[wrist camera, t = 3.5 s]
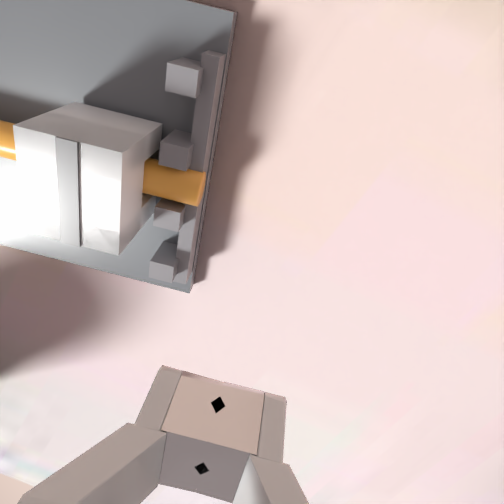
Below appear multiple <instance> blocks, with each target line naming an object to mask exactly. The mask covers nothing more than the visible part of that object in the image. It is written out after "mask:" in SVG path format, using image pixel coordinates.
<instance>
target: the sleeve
mask: <svg viewBox="0 0 504 504" xmlns="http://www.w3.org/2000/svg"><path fill="white" fill-rule="evenodd" d="M162 125H163V124H162V123H158V122H154V121H150V120H146V119H142V118H138V117H134V116H130V115H126V114H122V113H118V112H114V111H110V110H106V109H102V108H98V107H94V106H90V105H86V104H82V103H78V102H73V103H70V104H68V105H65V106H62V107H60V108H57V109H54V110H52V111H49V112H46V113H44V114H41V115H38V116H36V117H33V118H30V119H28V120H25V121H22V122H20V123H17V124H14V125H13V132H14V141H15V151H16V160H17V169H18V178H19V187H20V196H21V205H22V214H23V223H24V232H28V233H32V234H36V235H40V236H43V237H47V238H51V239H55V240H59V241H61V243H65V244H69V245H73V246H77V247H81V246H83V247H87V248H90V249H94V250H98V251H102V252H106V253H110V254H114V255H118V256H119V255H120V254H121V252H122V251H123V250H124V249H125V247H126V246H127V245H128V244H129V242H130V241H131V240H132V239H133V238H134V236H135V235H136V234H137V233H138V231H139V230H140V229H141V228H142V226H143V225H144V224H145V223H146V222H147V220H148V219H149V218H150V217H151V215H152V214H153V213H154V209H155V205H156V196H153V195H149V194H145V193H142V190H143V176H144V162H145V161H146V160H147V159H148V158H149V157H150V156H151V155H153V154H154V153H155V152H156V151H157V150H158V149H159V148H160V141H161V136H162Z"/></svg>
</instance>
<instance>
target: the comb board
mask: <svg viewBox="0 0 504 504" xmlns="http://www.w3.org/2000/svg"><path fill="white" fill-rule="evenodd" d="M236 18H237V12H234V11H230V10H226V9H222V8H218V7H214V6H210V5H206V4H202V3H198V2H194V1H190V0H0V245H3V246H7V247H11V248H15V249H19V250H22V251H26V252H30V253H34V254H38V255H42V256H46V257H50V258H54V259H58V260H61V261H65V262H69V263H73V264H77V265H81V266H85V267H89V268H93V269H97V270H101V271H104V272H108V273H112V274H116V275H120V276H124V277H128V278H132V279H136V280H140V281H144V282H147V283H151V284H155V285H159V286H163V287H167V288H171V289H175V290H179V291H183V292H186V293H190V291H191V289H192V286H193V283H194V277H195V270H196V264H197V258H198V252H199V246H200V240H201V233H202V227H203V221H204V215H205V209H206V203H207V196H208V190H209V184H210V178H211V172H212V166H213V159H214V153H215V147H216V141H217V135H218V129H219V122H220V116H221V110H222V104H223V98H224V92H225V85H226V79H227V73H228V67H229V61H230V55H231V48H232V42H233V36H234V30H235V24H236ZM73 102H78V103H82V104H86V105H90V106H94V107H98V108H102V109H106V110H110V111H114V112H118V113H122V114H126V115H130V116H134V117H138V118H142V119H146V120H150V121H154V122H158V123H162V124H163V125H162V136H161V141H160V148H159V149H158V150H157V151H156V152H155V153H154V154H153V155H151V156H150V157H149V158H148V159H147V160H146V161H145V162H144V176H143V190H142V193H145V194H149V195H153V196H156V205H155V209H154V213H153V214H152V215H151V217H150V218H149V219H148V220H147V222H146V223H145V224H144V225H143V226H142V228H141V229H140V230H139V231H138V233H137V234H136V235H135V236H134V238H133V239H132V240H131V241H130V242H129V244H128V245H127V246H126V247H125V249H124V250H123V251H122V252H121V254H120V255H119V256H118V255H114V254H110V253H106V252H102V251H98V250H94V249H90V248H87V247H83V246H81V247H77V246H73V245H69V244H65V243H61V241H59V240H55V239H51V238H47V237H43V236H40V235H36V234H32V233H28V232H24V223H23V214H22V205H21V196H20V187H19V178H18V169H17V160H16V151H15V141H14V132H13V125H14V124H17V123H20V122H22V121H25V120H28V119H30V118H33V117H36V116H38V115H41V114H44V113H46V112H49V111H52V110H54V109H57V108H60V107H62V106H65V105H68V104H70V103H73Z"/></svg>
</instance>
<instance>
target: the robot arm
mask: <svg viewBox="0 0 504 504" xmlns="http://www.w3.org/2000/svg"><path fill="white" fill-rule="evenodd" d="M286 403H287V401H286V398H285V397H283V396H279V395H275V394H271V393H267V392H264V391H260V390H256V389H252V388H248V387H244V386H240V385H236V384H232V383H228V382H221V381H218V380H214V379H211V378H207V377H204V376H200V375H197V374H193V373H190V372H186V371H182V370H178V369H175V368H171V367H168V366H164V365H162V367H161V368H160V369H159V371H158V373H157V375H156V377H155V379H154V382H153V384H152V386H151V388H150V391H149V393H148V395H147V397H146V400H145V402H144V404H143V406H142V408H141V411H140V413H139V415H138V417H137V420H136V422H135V424H131V423H127V424H125V425H124V426H122V427H121V428H119V429H118V430H117V431H115V432H114V433H112V434H111V435H109V436H108V437H106V438H105V439H103V440H102V441H101V442H99V443H98V444H96V445H95V446H93V447H92V448H90V449H89V450H87V451H86V452H85V453H83V454H82V455H80V456H79V457H77V458H76V459H74V460H73V461H71V462H70V463H69V464H67V465H66V466H64V467H63V468H61V469H60V470H58V471H57V472H55V473H54V474H52V475H51V476H50V477H48V478H47V479H45V480H44V481H42V482H41V483H39V484H38V485H36V486H35V487H34V488H32V489H31V490H29V491H28V492H26V493H25V494H24V495H23V496H22V497H21V499H20V500H19V502H18V504H140V503H141V502H142V501H143V500H144V499H145V498H146V497H147V496H148V495H149V494H150V493H151V492H152V491H153V490H154V489H155V488H156V487H157V486H158V484H162V485H166V486H170V487H175V488H179V489H183V490H188V491H192V492H196V493H200V494H203V495H206V496H210V497H213V498H217V499H220V500H224V501H227V502H230V503H232V504H309V503H308V501H307V499H306V497H305V495H304V493H303V491H302V489H301V487H300V485H299V483H298V481H297V479H296V477H295V475H294V473H293V471H292V469H291V467H290V465H288V464H285V463H283V449H284V434H285V419H286Z"/></svg>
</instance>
